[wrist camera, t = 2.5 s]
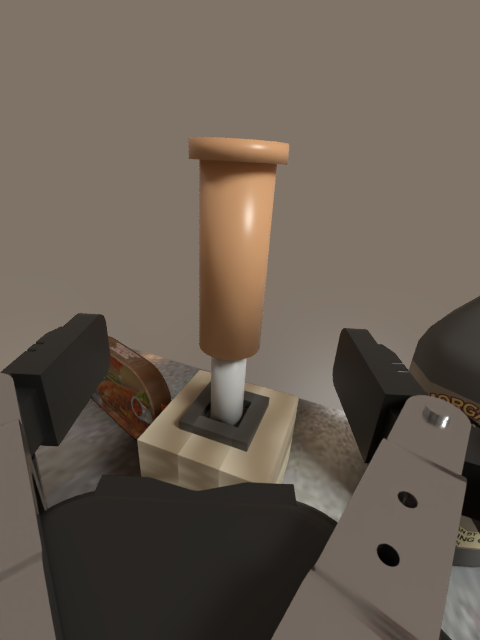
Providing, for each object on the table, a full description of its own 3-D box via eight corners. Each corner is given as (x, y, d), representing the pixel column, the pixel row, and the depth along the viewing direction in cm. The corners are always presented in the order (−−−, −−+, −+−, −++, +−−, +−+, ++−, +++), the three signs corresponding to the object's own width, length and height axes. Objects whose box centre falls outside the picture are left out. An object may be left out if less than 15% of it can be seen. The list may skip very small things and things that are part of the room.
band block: (144, 510, 28) (136, 431, 24) (199, 430, 36) (199, 362, 32) (257, 560, 25) (268, 479, 21) (288, 460, 33) (300, 389, 29)
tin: (82, 390, 41) (71, 330, 38) (105, 379, 44) (97, 322, 40) (153, 458, 33) (147, 389, 29) (178, 440, 35) (176, 374, 31)
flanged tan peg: (179, 440, 26) (168, 135, 17) (210, 398, 31) (214, 143, 22) (245, 463, 24) (273, 139, 15) (267, 415, 29) (298, 146, 20)
